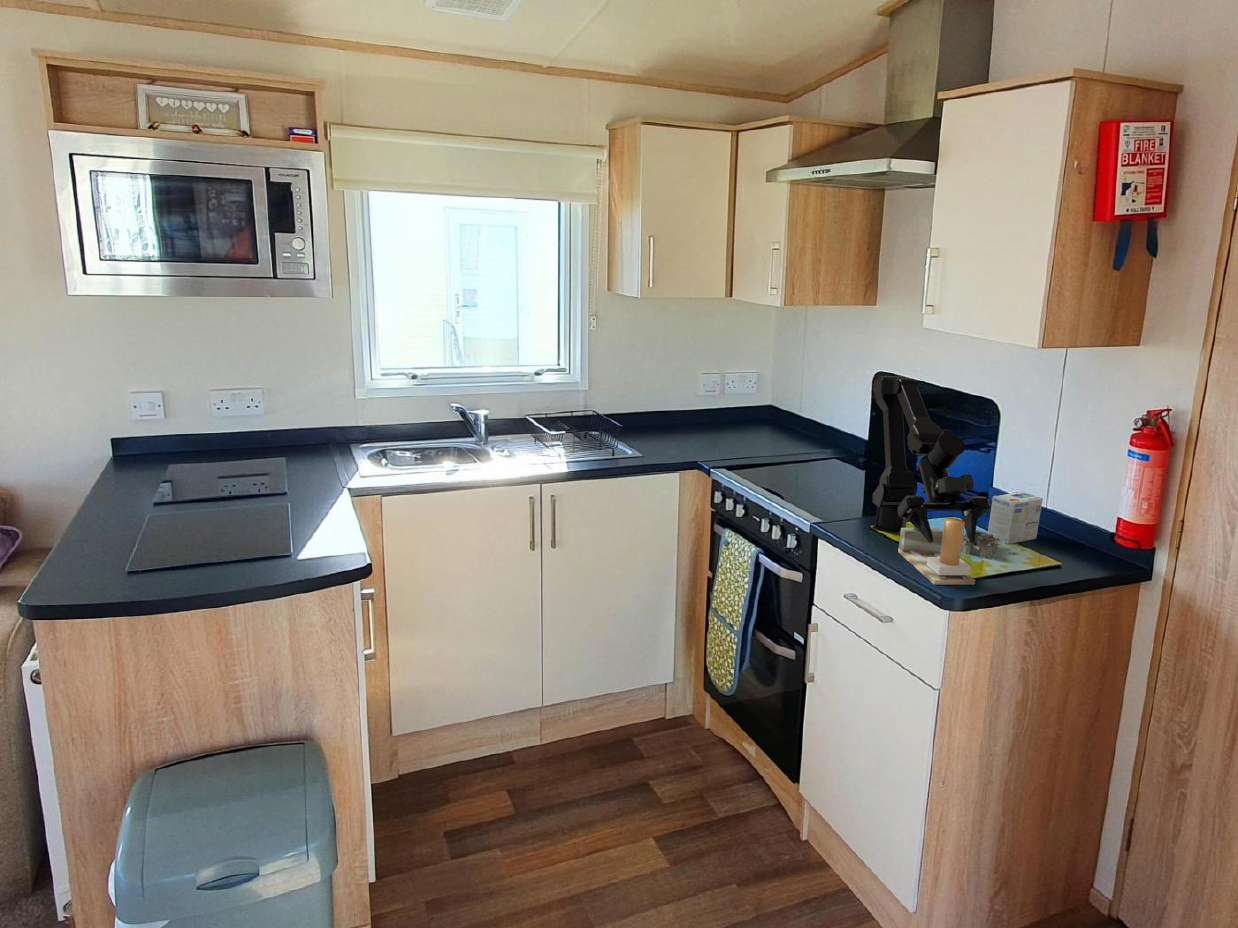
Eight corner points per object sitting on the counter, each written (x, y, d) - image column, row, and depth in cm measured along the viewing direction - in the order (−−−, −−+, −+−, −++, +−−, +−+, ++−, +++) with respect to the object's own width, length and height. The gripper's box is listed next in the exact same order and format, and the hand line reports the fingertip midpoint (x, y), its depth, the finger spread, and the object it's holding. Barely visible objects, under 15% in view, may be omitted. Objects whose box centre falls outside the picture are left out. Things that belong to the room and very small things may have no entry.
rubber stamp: (926, 564, 188) (932, 516, 186) (957, 564, 189) (964, 516, 186) (938, 575, 183) (945, 525, 180) (970, 575, 183) (977, 525, 180)
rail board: (897, 551, 202) (900, 525, 200) (934, 551, 203) (937, 525, 201) (933, 584, 182) (937, 556, 181) (974, 584, 183) (978, 556, 182)
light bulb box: (1014, 531, 220) (1020, 490, 217) (1037, 539, 214) (1044, 497, 211) (985, 536, 215) (991, 495, 212) (1008, 545, 209) (1015, 502, 206)
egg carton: (988, 560, 199) (991, 543, 198) (955, 552, 203) (958, 536, 202) (1001, 548, 207) (1004, 532, 206) (969, 541, 211) (972, 525, 210)
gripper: (908, 459, 184) (924, 525, 176) (992, 461, 186) (1011, 525, 178) (890, 485, 194) (904, 548, 186) (970, 486, 195) (987, 548, 187)
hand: (952, 542), depth 184 cm, fingers open, 9 cm apart
